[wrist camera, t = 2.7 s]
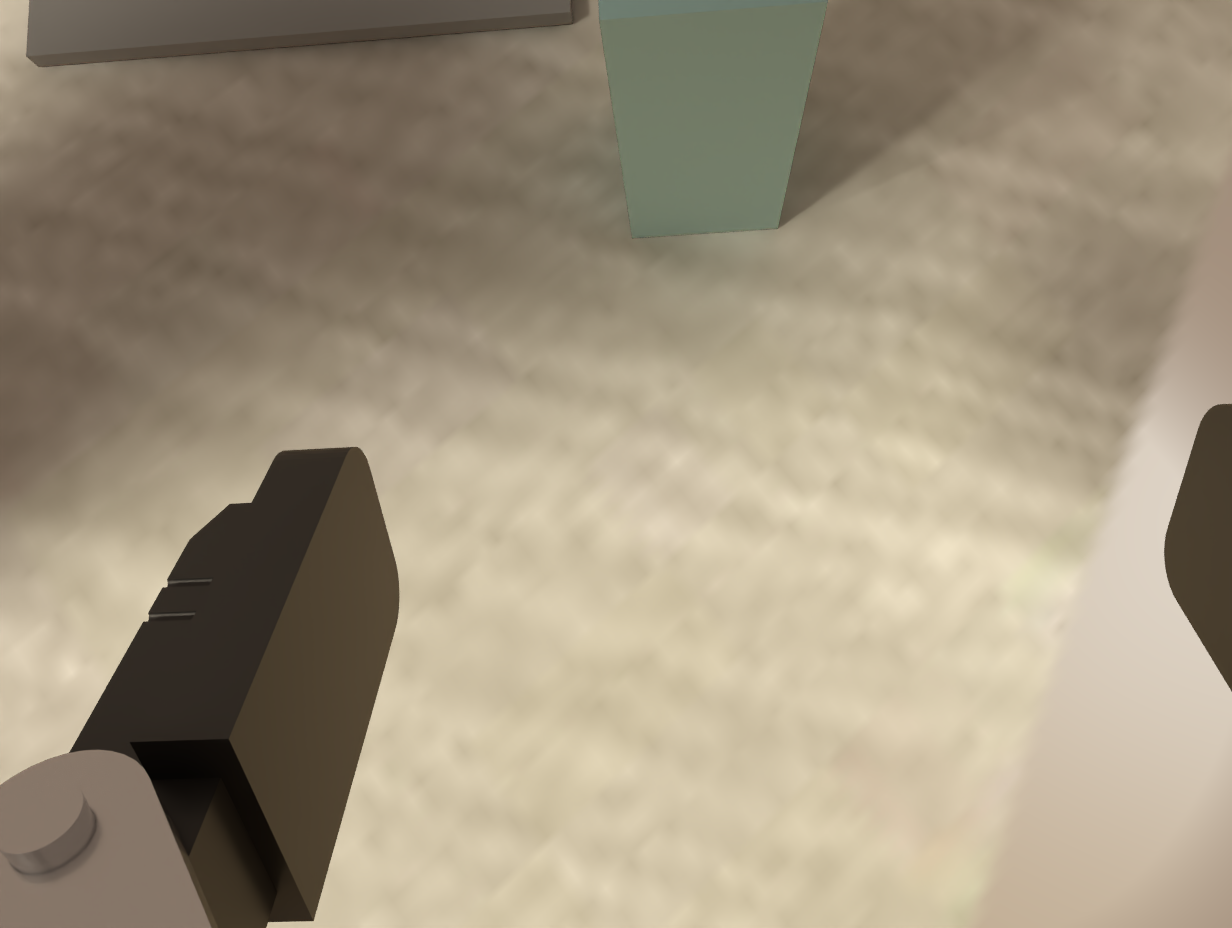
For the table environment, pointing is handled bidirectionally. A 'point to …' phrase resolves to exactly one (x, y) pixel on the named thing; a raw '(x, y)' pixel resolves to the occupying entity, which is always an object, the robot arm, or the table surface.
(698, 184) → the teal block
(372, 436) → the table surface
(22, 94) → the table surface
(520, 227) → the table surface
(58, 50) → the gray mat
